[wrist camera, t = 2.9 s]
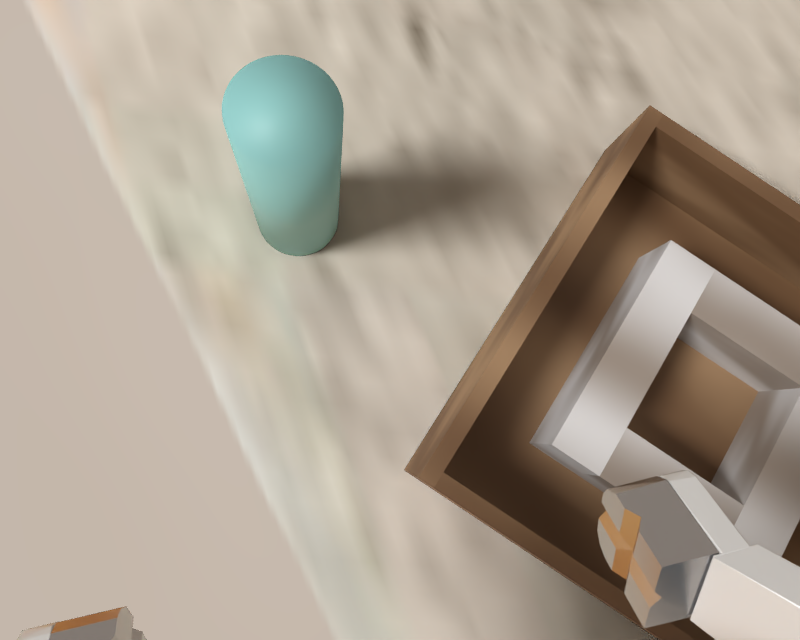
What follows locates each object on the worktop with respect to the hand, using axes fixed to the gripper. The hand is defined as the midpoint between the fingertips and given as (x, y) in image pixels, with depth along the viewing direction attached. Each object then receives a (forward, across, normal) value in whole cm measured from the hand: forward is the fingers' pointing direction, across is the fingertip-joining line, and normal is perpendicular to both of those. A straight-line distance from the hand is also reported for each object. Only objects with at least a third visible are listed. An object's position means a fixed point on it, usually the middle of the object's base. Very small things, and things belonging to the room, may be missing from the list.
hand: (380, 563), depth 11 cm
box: (+10, -13, +10) cm, 19 cm away
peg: (+18, 0, +2) cm, 18 cm away
